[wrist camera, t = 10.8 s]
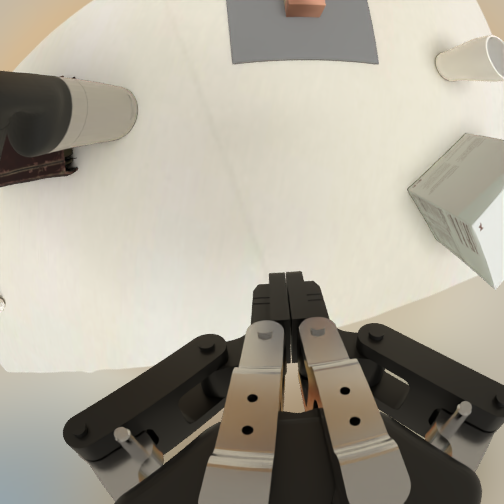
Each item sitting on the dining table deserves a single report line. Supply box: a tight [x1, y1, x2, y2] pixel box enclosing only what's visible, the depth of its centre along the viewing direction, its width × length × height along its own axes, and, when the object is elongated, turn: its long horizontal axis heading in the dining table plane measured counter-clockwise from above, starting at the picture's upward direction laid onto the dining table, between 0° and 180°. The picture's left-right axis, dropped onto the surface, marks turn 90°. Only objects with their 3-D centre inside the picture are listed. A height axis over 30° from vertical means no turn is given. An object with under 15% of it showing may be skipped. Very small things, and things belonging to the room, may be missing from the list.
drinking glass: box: [436, 35, 504, 82], centre depth 24 cm, size 7×7×15 cm
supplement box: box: [408, 133, 504, 289], centre depth 31 cm, size 17×13×18 cm
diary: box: [0, 76, 78, 187], centre depth 36 cm, size 19×25×5 cm
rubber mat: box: [226, 0, 379, 64], centre depth 29 cm, size 22×22×1 cm
